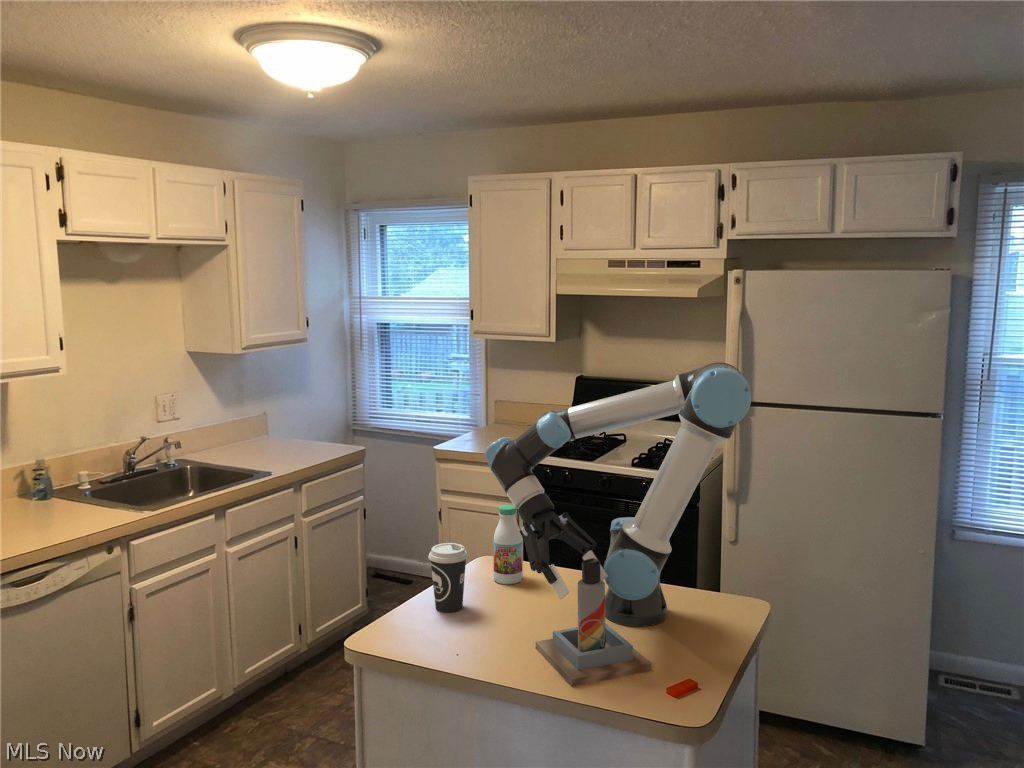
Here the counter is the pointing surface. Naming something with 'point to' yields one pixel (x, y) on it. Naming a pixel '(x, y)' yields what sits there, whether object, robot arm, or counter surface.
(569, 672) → the stand board
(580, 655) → the bottle collar
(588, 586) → the lotion bottle
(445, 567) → the coffee cup
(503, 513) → the milk bottle
